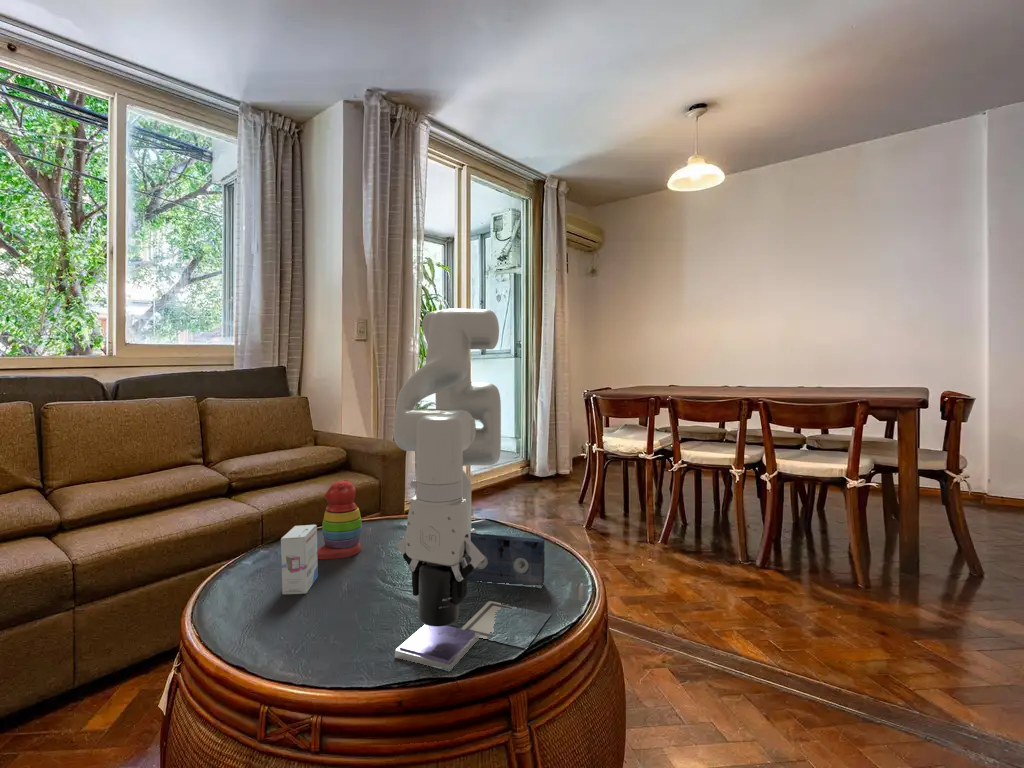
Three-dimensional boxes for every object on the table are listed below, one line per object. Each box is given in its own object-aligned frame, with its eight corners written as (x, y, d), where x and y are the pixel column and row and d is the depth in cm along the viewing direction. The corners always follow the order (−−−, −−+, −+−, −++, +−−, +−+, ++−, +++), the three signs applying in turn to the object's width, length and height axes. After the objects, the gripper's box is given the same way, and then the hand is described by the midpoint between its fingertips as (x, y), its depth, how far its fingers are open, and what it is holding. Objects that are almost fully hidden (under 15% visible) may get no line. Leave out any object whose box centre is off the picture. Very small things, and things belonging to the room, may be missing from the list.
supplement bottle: (452, 630, 80) (452, 556, 79) (411, 625, 82) (411, 552, 81) (464, 609, 87) (465, 540, 86) (426, 604, 88) (427, 537, 88)
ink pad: (428, 628, 90) (428, 619, 90) (479, 640, 86) (479, 631, 86) (394, 657, 81) (394, 648, 81) (449, 672, 77) (449, 662, 77)
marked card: (489, 601, 100) (489, 600, 100) (551, 614, 95) (551, 613, 95) (457, 633, 89) (457, 631, 88) (526, 650, 83) (526, 648, 83)
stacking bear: (329, 543, 132) (329, 475, 132) (367, 544, 132) (367, 476, 131) (311, 559, 122) (311, 485, 121) (353, 560, 121) (353, 486, 121)
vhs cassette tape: (544, 584, 109) (545, 538, 109) (542, 590, 106) (542, 543, 106) (463, 575, 114) (464, 531, 113) (459, 580, 111) (459, 535, 110)
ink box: (295, 577, 111) (294, 524, 111) (318, 577, 111) (318, 523, 111) (280, 595, 103) (280, 537, 102) (306, 594, 103) (305, 536, 103)
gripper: (381, 489, 83) (381, 596, 84) (476, 503, 76) (475, 618, 77) (407, 479, 90) (407, 578, 91) (497, 491, 83) (496, 597, 84)
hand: (439, 595), depth 84 cm, fingers closed on supplement bottle, 6 cm apart
